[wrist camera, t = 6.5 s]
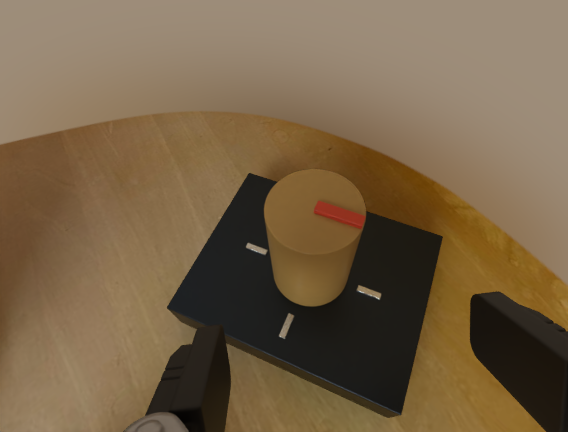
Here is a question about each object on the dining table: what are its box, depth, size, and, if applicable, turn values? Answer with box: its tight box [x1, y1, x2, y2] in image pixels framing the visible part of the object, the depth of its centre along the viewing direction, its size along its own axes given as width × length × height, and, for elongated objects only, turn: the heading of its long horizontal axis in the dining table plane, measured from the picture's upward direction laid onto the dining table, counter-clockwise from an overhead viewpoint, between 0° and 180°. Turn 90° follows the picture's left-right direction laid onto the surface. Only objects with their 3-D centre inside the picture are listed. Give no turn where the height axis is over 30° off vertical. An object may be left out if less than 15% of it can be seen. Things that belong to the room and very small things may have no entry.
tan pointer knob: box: [264, 169, 366, 306], centre depth 19 cm, size 5×5×7 cm
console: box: [167, 173, 443, 418], centre depth 23 cm, size 14×11×3 cm
